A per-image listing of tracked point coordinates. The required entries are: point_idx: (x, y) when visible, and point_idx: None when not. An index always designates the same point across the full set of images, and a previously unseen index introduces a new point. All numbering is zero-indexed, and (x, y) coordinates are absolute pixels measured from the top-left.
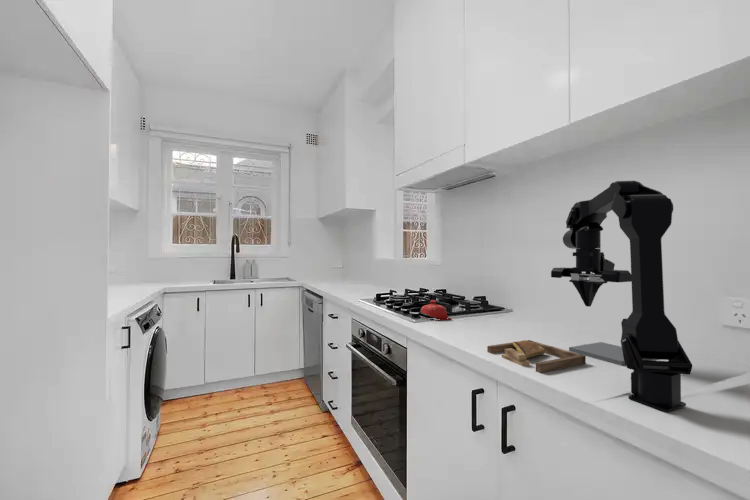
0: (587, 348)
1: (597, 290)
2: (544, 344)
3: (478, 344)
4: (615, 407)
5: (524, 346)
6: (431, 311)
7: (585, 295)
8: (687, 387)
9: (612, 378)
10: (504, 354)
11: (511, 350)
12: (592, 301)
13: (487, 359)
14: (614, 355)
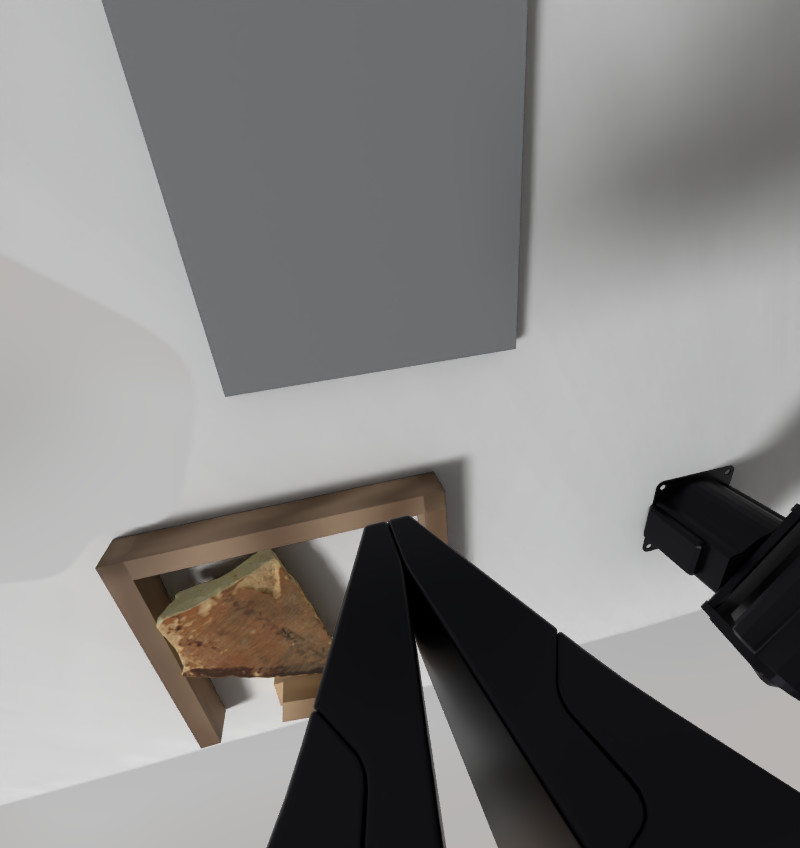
0: (275, 307)
1: (684, 725)
2: (215, 543)
3: (41, 717)
4: (648, 608)
5: (264, 654)
6: None
7: (475, 768)
8: (720, 345)
9: (566, 495)
10: (282, 698)
11: (311, 709)
12: (452, 554)
13: (282, 726)
14: (440, 285)
